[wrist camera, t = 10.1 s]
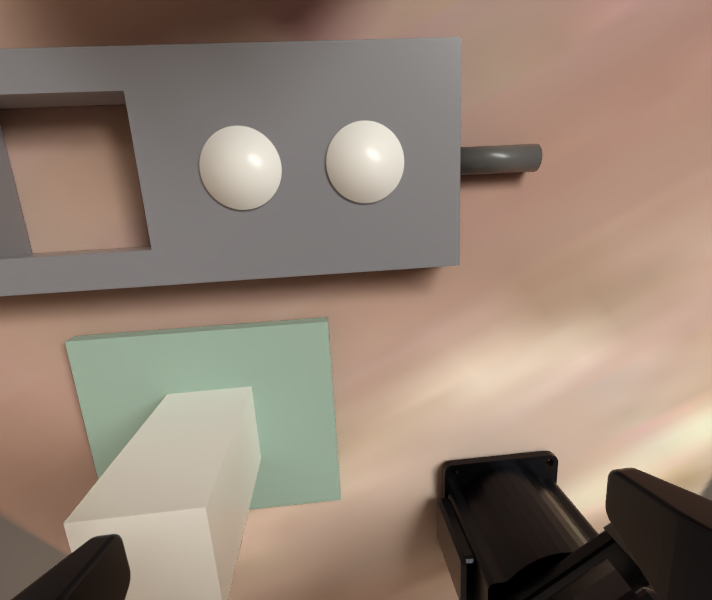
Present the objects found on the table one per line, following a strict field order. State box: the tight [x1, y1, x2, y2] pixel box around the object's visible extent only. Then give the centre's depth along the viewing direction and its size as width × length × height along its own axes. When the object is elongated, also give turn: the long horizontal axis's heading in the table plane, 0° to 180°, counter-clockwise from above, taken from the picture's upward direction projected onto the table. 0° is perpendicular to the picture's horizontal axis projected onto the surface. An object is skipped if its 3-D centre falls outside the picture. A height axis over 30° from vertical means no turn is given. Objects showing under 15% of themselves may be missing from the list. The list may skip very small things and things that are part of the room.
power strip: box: [0, 37, 542, 296], centre depth 17 cm, size 28×9×3 cm, turn 93°
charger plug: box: [63, 386, 261, 600], centre depth 16 cm, size 4×4×8 cm
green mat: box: [65, 317, 341, 510], centre depth 20 cm, size 12×10×1 cm
